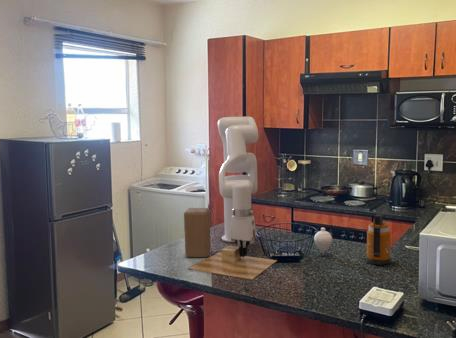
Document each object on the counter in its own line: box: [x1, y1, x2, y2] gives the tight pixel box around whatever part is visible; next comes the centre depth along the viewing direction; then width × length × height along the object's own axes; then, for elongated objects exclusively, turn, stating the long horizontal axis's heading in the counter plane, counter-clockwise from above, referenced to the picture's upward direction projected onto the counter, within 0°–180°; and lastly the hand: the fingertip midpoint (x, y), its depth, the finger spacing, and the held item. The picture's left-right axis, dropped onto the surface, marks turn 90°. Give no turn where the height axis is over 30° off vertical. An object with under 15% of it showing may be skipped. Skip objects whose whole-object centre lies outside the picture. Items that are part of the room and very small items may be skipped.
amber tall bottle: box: [366, 213, 391, 266], centre depth 180 cm, size 9×11×20 cm
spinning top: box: [313, 227, 333, 256], centre depth 192 cm, size 8×8×12 cm
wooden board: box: [188, 251, 278, 280], centre depth 182 cm, size 24×28×1 cm
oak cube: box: [221, 245, 241, 263], centre depth 188 cm, size 6×6×5 cm
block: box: [183, 207, 212, 258], centre depth 196 cm, size 10×10×20 cm
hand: (243, 255), depth 187 cm, fingers closed
